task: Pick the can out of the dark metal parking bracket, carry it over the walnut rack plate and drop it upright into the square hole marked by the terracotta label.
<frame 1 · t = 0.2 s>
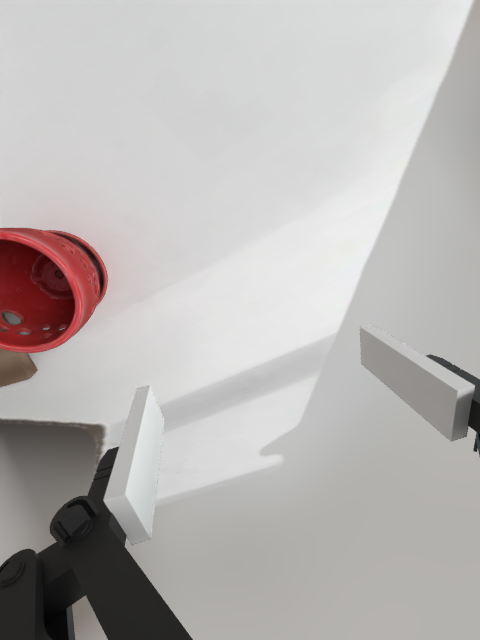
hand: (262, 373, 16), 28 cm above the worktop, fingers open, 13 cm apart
plant pot: (64, 273, 38), on the worktop
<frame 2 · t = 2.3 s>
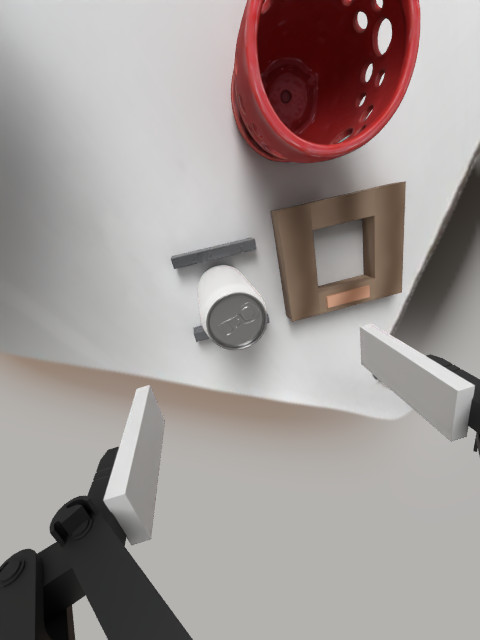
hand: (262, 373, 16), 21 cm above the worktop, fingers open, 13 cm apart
can: (221, 288, 36), on the worktop
parking bracket: (222, 288, 35), on the worktop
rack plate: (335, 253, 36), on the worktop
plant pot: (282, 108, 30), on the worktop
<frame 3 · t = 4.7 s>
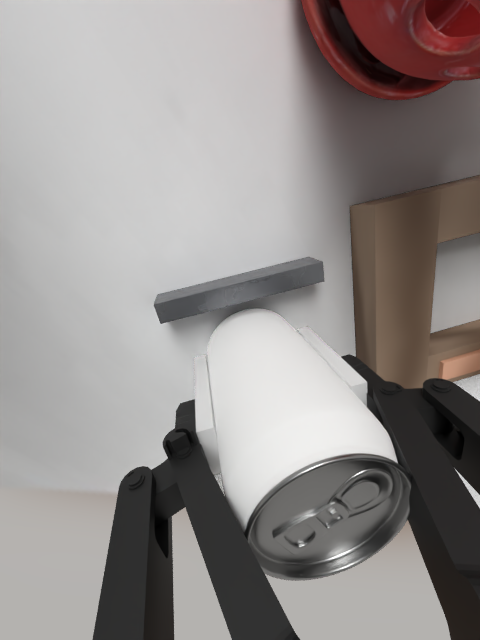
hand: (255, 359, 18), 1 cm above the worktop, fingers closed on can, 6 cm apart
can: (250, 347, 20), on the worktop, touching gripper
parking bracket: (251, 349, 19), on the worktop
rack plate: (453, 281, 20), on the worktop
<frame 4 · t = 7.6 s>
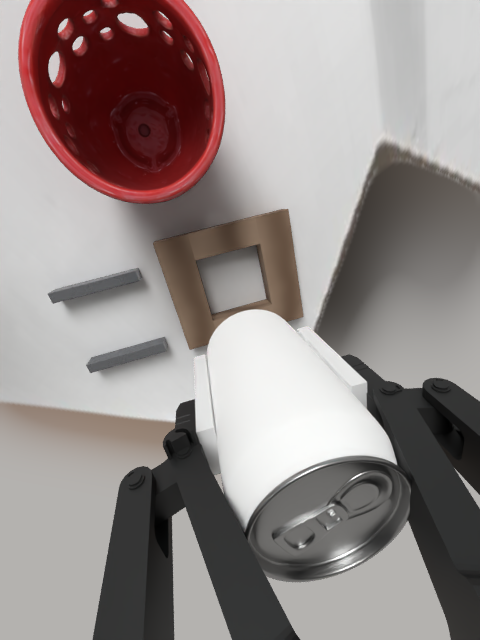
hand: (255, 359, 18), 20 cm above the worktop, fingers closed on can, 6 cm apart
can: (250, 348, 20), point 18 cm above the worktop, touching gripper
parking bracket: (115, 318, 35), on the worktop
rack plate: (232, 279, 36), on the worktop
plant pot: (150, 140, 29), on the worktop
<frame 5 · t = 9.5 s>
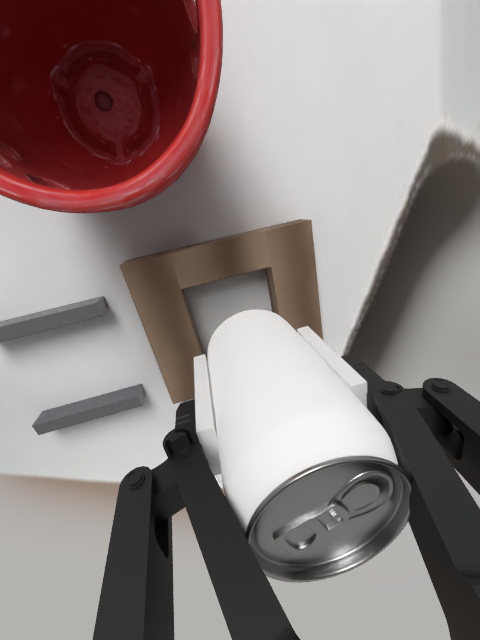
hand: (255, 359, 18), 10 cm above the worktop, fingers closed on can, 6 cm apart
can: (251, 348, 20), point 8 cm above the worktop, touching gripper
parking bracket: (73, 362, 26), on the worktop
rack plate: (232, 310, 27), on the worktop
plant pot: (117, 118, 20), on the worktop
when the fingers open (5 cm above the worktop, at t = 10.8 s): can drops 3 cm, on the worktop.
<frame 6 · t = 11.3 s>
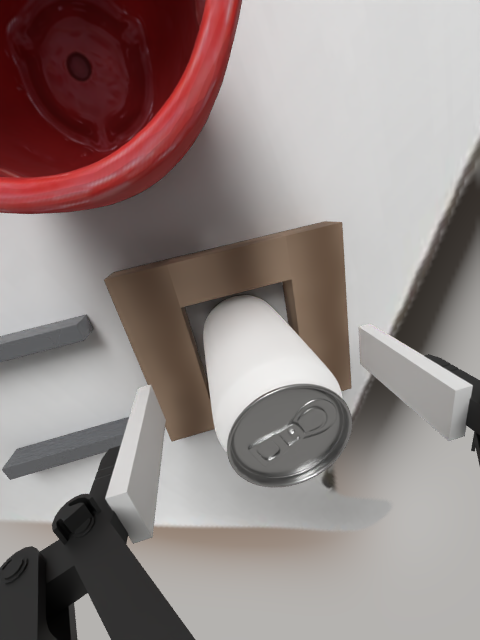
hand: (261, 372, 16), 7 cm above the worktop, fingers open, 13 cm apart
can: (240, 329, 23), on the worktop
parking bracket: (52, 392, 22), on the worktop
rack plate: (242, 330, 23), on the worktop
plant pot: (100, 93, 16), on the worktop
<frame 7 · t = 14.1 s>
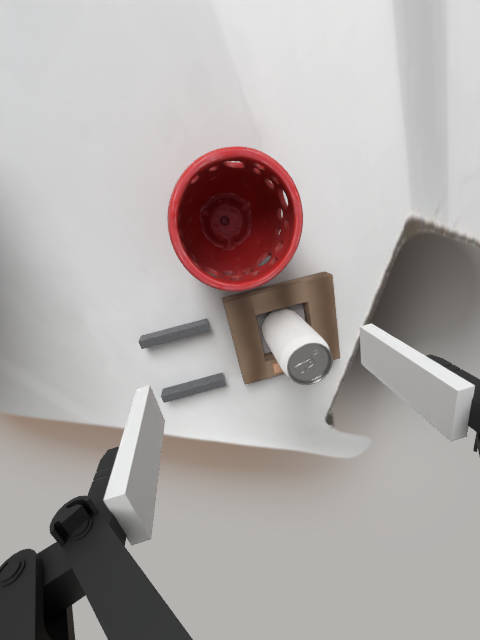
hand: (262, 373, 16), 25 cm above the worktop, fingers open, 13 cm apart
can: (280, 326, 43), on the worktop
parking bracket: (185, 358, 42), on the worktop
rack plate: (281, 326, 43), on the worktop
plant pot: (225, 223, 37), on the worktop
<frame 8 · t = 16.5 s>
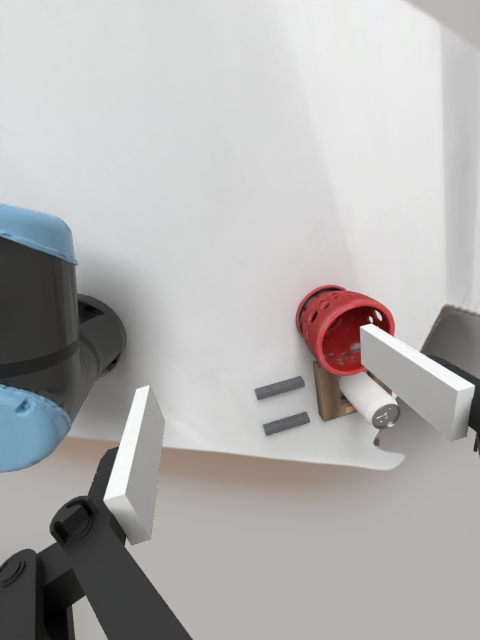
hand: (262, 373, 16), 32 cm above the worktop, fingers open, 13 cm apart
can: (349, 378, 59), on the worktop
parking bracket: (281, 403, 58), on the worktop
rack plate: (350, 379, 59), on the worktop
plant pot: (321, 314, 52), on the worktop
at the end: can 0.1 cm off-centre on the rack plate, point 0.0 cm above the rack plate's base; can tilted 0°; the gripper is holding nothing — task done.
